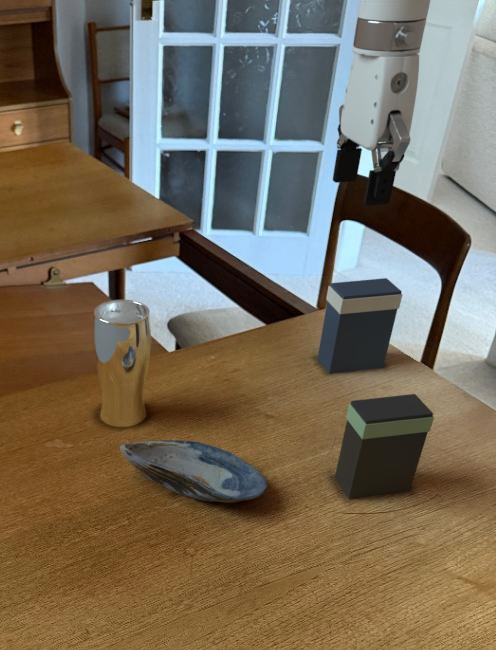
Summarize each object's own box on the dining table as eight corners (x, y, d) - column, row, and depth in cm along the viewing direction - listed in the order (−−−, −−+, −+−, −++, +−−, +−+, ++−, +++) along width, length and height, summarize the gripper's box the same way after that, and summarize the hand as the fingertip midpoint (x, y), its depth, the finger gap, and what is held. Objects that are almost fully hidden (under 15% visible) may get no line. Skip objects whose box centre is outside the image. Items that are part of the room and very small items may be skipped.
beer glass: (156, 409, 98) (158, 302, 89) (140, 438, 93) (141, 327, 84) (106, 401, 100) (103, 295, 90) (88, 429, 95) (83, 319, 85)
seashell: (135, 538, 79) (135, 502, 75) (117, 469, 88) (116, 434, 85) (274, 522, 80) (280, 485, 77) (242, 455, 90) (246, 421, 87)
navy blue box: (369, 357, 108) (387, 277, 100) (383, 373, 104) (403, 291, 97) (315, 362, 107) (329, 282, 99) (327, 378, 103) (342, 297, 96)
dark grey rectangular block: (393, 475, 86) (415, 393, 79) (410, 497, 83) (435, 413, 76) (331, 482, 85) (349, 400, 78) (346, 505, 82) (366, 421, 75)
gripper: (458, 46, 79) (419, 211, 90) (385, 25, 92) (358, 171, 103) (391, 50, 78) (360, 216, 89) (327, 28, 91) (307, 175, 102)
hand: (359, 192), depth 96 cm, fingers open, 9 cm apart
